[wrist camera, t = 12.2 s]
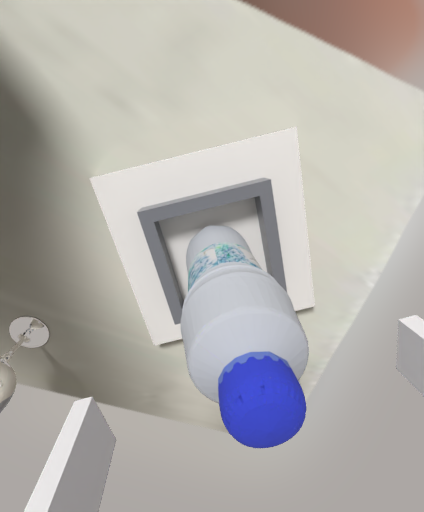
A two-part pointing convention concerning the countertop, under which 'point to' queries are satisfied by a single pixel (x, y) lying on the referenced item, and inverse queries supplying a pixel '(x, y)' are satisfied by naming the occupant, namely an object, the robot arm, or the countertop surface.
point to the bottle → (243, 340)
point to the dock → (208, 219)
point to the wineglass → (23, 333)
